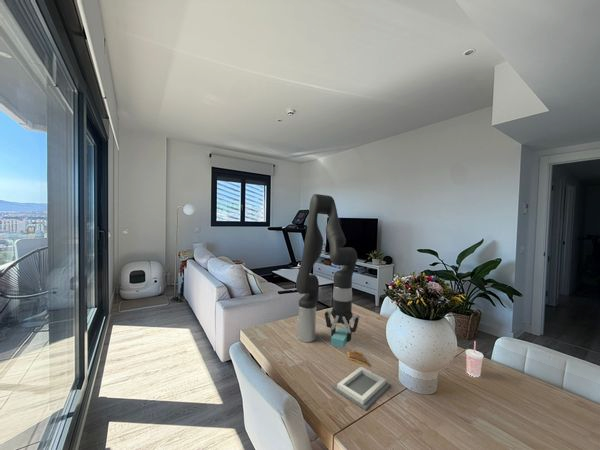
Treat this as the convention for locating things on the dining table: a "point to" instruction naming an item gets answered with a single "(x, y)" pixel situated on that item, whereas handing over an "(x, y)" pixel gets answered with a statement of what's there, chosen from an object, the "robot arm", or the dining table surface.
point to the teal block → (339, 338)
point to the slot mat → (362, 387)
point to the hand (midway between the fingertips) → (341, 339)
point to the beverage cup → (474, 361)
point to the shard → (358, 357)
